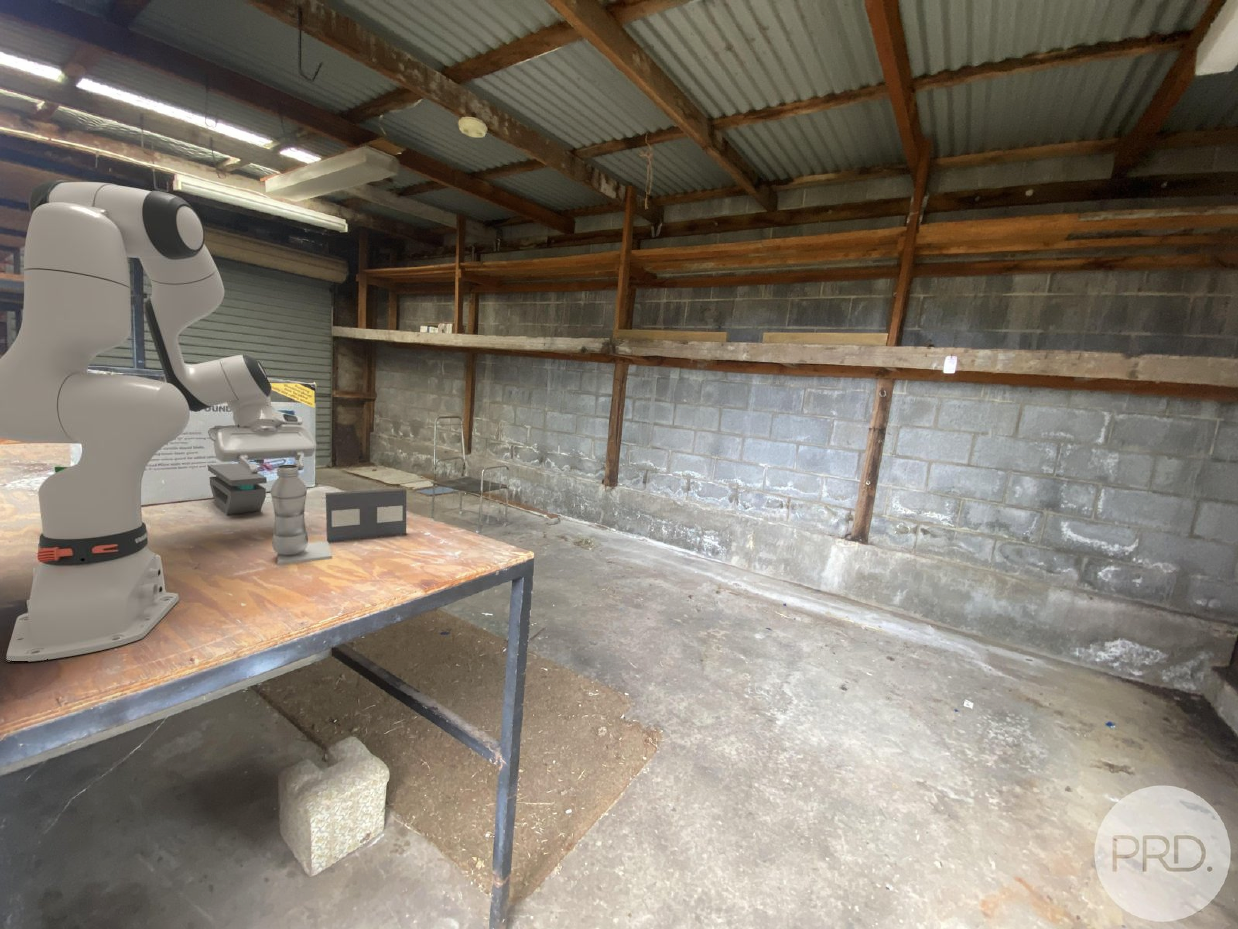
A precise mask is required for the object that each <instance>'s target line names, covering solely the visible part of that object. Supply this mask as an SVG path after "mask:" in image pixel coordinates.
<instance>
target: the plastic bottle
mask: <svg viewBox="0 0 1238 929" xmlns="http://www.w3.org/2000/svg"><path fill="white" fill-rule="evenodd" d="M293 464H294V463H293ZM293 464H291V463H290V464H289V463H287V464H286V463H285V464H279V465H278V466H277V468H276V469H277V470H276V471H277V472H276V476H277V477H278V478H277V479H276V480H275V482H274V483H273V484H272V486H271V489H270V497H271V498H270V499H271V501H272V506H273V514H274V530H273V536H272V539H271V540H272V542H271V546H272V548H273V551H274V552H275V553H276V554H277V555H278V554H280V555H294V554H298V553H301V552H303V551H304V550H305V549H306V547H307V544H308V543H309V536H308V532H307V530H306V521H305V507H306V499H307V493H308V489H307V486H306V484H305V483H304V481H303V480H302V479H301V478H300V477H299V475H300V471H298V466H297V465H293Z"/></svg>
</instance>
